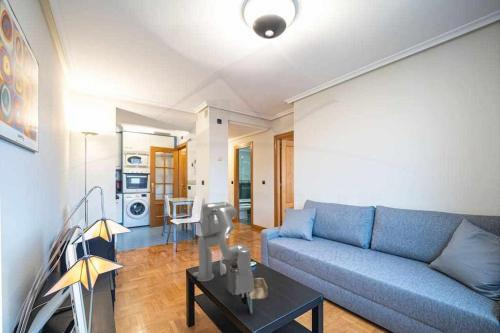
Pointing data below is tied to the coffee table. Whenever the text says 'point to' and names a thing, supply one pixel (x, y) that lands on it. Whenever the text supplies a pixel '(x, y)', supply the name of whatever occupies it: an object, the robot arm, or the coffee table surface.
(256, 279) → the cubby
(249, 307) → the gate
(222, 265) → the headset
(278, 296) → the coffee table surface
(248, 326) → the coffee table surface
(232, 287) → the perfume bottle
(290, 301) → the coffee table surface
